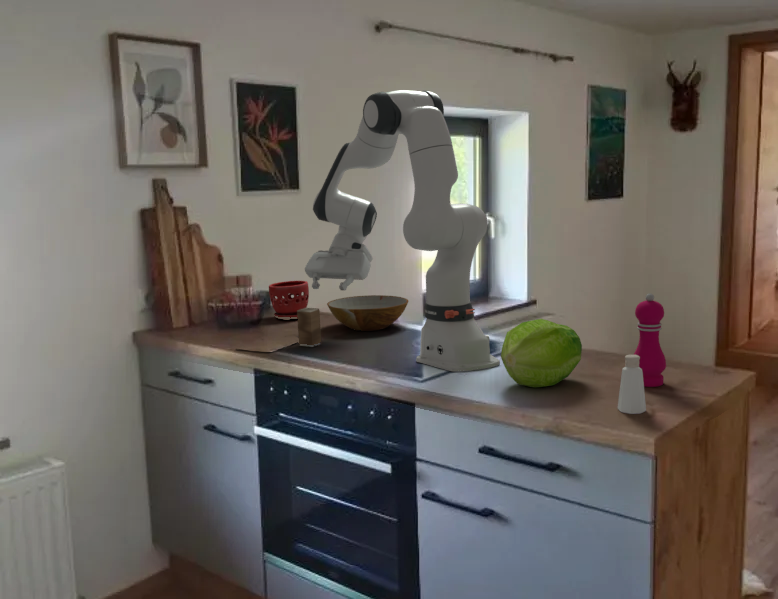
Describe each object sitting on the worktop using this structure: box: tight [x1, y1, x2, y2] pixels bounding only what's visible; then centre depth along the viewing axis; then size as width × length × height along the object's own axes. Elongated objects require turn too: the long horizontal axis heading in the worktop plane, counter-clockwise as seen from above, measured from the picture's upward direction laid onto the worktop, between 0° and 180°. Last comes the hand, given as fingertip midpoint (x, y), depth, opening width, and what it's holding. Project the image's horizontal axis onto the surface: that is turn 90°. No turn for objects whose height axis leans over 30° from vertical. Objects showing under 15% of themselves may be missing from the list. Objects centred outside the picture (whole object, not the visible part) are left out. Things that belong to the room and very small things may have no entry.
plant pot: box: [268, 280, 310, 318], centre depth 269 cm, size 13×13×12 cm
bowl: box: [326, 294, 409, 332], centre depth 250 cm, size 25×25×8 cm
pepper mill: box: [633, 293, 667, 388], centre depth 177 cm, size 7×7×20 cm
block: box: [297, 307, 322, 345], centre depth 228 cm, size 4×4×10 cm
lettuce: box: [500, 318, 583, 388], centre depth 180 cm, size 15×23×16 cm
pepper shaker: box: [617, 354, 647, 415], centre depth 159 cm, size 5×5×11 cm
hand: (328, 288), depth 235 cm, fingers open, 8 cm apart
